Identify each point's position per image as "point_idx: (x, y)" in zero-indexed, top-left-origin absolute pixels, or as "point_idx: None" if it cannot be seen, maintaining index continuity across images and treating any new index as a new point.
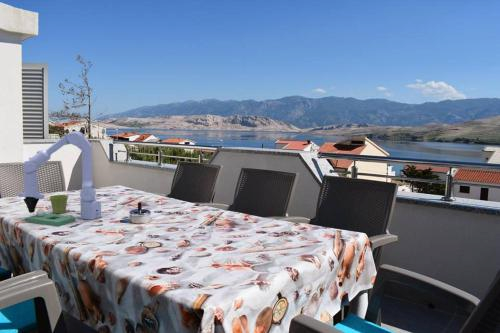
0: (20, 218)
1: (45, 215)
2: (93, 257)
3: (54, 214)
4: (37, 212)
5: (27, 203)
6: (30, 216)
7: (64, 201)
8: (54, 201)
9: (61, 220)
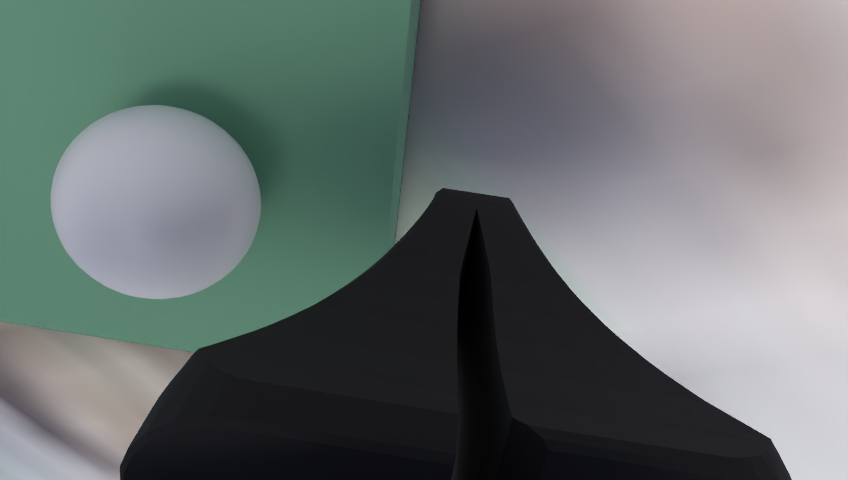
0: (757, 141)
1: None
2: None
3: (99, 336)
4: (145, 127)
5: (517, 335)
6: (393, 71)
7: None
8: None
9: None
